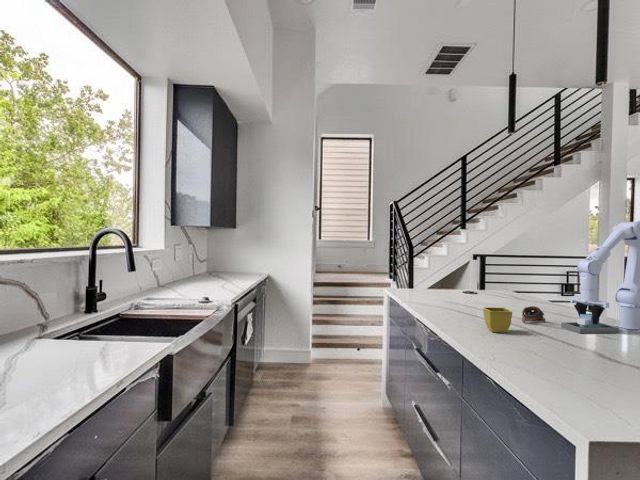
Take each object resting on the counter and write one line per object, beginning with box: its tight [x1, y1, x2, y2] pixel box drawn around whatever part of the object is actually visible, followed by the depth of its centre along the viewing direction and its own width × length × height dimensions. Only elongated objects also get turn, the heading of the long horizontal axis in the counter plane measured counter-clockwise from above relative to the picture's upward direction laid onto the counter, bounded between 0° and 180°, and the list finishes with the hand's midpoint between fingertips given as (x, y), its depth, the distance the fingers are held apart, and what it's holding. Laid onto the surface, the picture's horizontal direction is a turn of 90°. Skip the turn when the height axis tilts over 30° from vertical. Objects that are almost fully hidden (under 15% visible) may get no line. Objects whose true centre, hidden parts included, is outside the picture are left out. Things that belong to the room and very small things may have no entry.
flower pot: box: [483, 306, 513, 334], centre depth 162 cm, size 9×9×9 cm
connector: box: [576, 312, 601, 328], centre depth 164 cm, size 10×4×5 cm, turn 115°
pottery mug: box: [521, 306, 547, 324], centre depth 180 cm, size 12×10×8 cm
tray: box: [560, 321, 620, 335], centre depth 164 cm, size 16×12×2 cm
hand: (589, 322), depth 164 cm, fingers closed on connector, 4 cm apart
